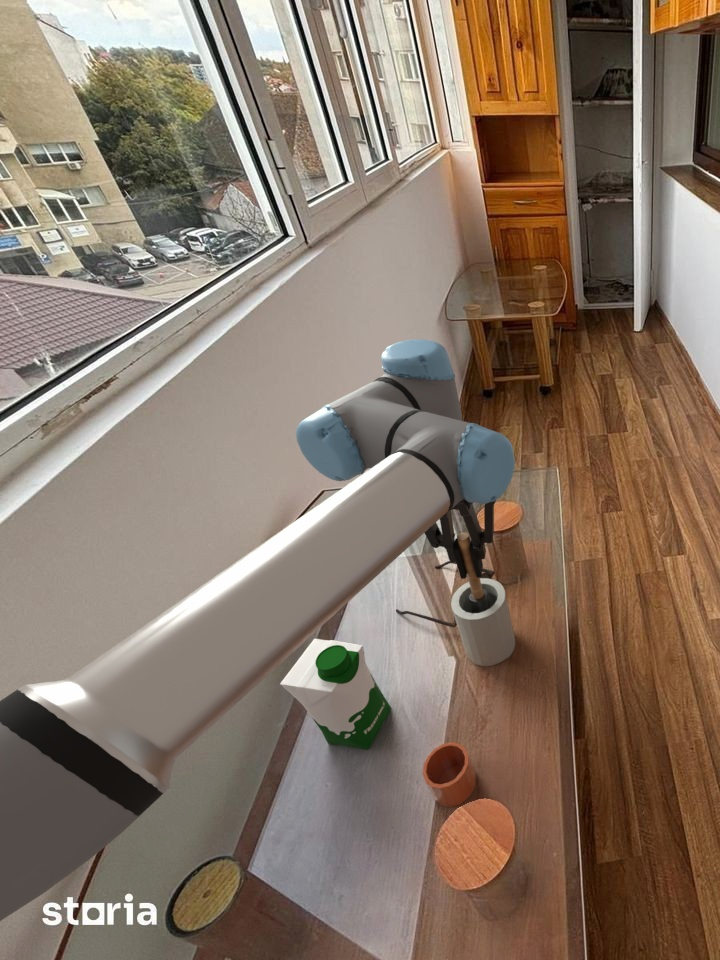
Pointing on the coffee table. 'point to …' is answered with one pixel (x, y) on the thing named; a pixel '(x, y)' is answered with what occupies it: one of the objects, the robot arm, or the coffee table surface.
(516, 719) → the coffee table surface
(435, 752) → the holder
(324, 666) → the milk carton
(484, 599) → the brush
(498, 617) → the cup
